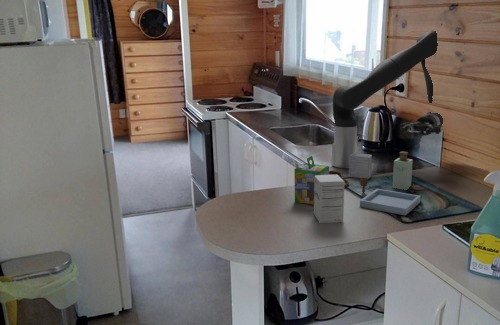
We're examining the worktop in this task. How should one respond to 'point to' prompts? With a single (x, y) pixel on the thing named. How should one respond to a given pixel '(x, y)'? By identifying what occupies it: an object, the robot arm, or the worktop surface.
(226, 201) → the worktop surface
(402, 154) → the post
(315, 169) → the chalk box
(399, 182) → the green square vase
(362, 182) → the place setting
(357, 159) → the medicine box
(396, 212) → the tray
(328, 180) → the supplement box
